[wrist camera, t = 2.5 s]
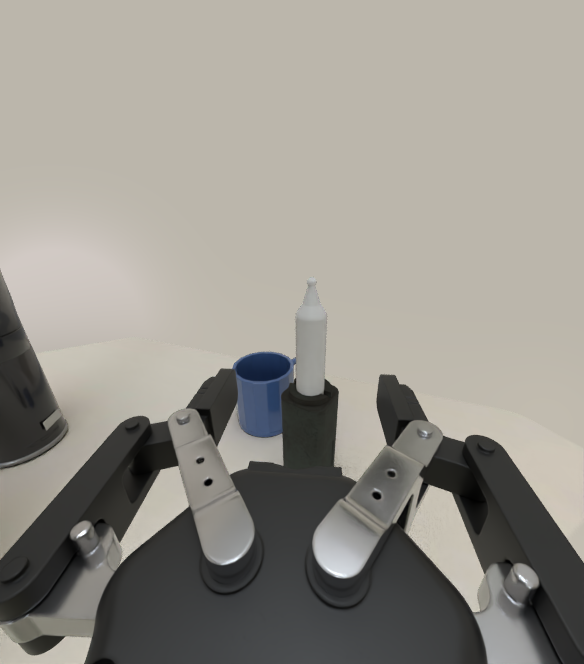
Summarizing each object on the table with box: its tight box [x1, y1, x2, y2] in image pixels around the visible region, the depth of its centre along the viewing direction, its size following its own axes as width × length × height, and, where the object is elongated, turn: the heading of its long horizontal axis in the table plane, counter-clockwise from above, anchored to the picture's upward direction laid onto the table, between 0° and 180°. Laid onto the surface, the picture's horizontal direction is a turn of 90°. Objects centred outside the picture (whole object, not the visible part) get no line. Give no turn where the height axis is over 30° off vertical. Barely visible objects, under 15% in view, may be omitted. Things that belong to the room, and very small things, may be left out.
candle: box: [281, 277, 339, 469], centre depth 29 cm, size 5×5×25 cm
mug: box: [232, 352, 296, 437], centre depth 43 cm, size 12×9×10 cm
